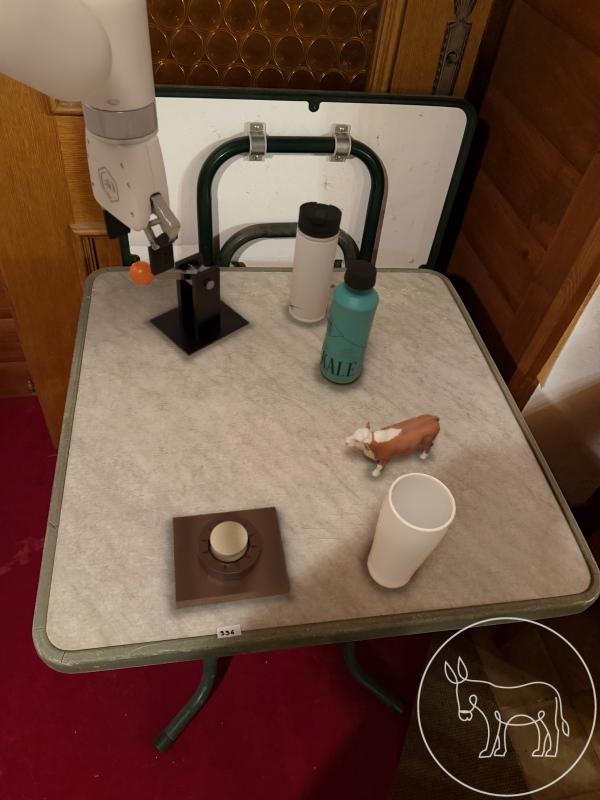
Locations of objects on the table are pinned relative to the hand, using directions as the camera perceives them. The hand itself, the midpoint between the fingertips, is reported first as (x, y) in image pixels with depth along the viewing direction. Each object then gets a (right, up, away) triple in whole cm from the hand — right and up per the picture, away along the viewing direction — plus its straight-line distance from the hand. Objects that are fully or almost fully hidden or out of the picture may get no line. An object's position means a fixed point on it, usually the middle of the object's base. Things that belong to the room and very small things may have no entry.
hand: (140, 252), depth 72 cm
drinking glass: (+31, -39, -7) cm, 50 cm away
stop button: (+13, -35, -11) cm, 39 cm away
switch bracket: (+5, -7, +17) cm, 19 cm away
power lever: (+2, -3, +7) cm, 8 cm away
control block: (+12, -37, -8) cm, 40 cm away
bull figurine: (+32, -28, +3) cm, 43 cm away
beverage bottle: (+26, -16, +13) cm, 33 cm away
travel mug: (+22, -5, +22) cm, 31 cm away
